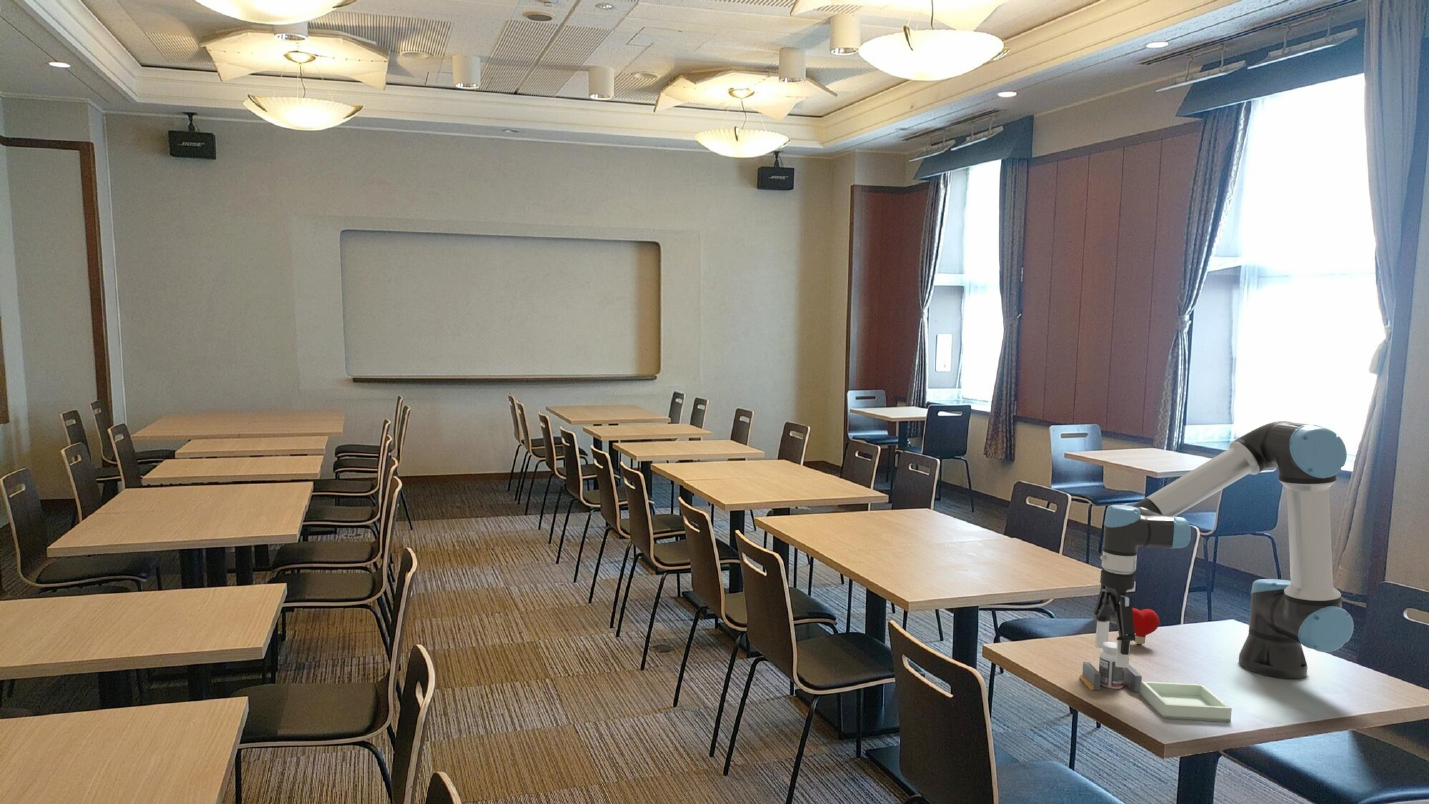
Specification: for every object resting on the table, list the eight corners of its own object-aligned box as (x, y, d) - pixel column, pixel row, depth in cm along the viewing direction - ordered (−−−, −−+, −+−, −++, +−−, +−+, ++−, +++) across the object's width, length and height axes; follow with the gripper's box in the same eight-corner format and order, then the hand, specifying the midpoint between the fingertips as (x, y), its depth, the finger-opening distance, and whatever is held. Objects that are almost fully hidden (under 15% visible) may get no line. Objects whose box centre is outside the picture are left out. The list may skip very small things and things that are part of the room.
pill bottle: (1124, 683, 225) (1126, 643, 224) (1123, 691, 220) (1126, 650, 219) (1098, 679, 227) (1101, 639, 226) (1097, 686, 222) (1100, 646, 221)
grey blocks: (1130, 680, 227) (1131, 664, 227) (1143, 692, 219) (1144, 676, 219) (1079, 677, 228) (1080, 661, 227) (1090, 689, 220) (1091, 673, 219)
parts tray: (1201, 697, 217) (1202, 684, 217) (1230, 722, 203) (1231, 708, 203) (1140, 694, 218) (1141, 681, 218) (1165, 718, 204) (1166, 704, 204)
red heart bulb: (1125, 647, 251) (1127, 611, 251) (1118, 639, 258) (1120, 604, 257) (1161, 650, 250) (1163, 614, 249) (1153, 642, 257) (1155, 606, 256)
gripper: (1084, 556, 234) (1078, 638, 235) (1121, 583, 209) (1114, 674, 211) (1114, 558, 233) (1108, 640, 235) (1155, 585, 209) (1148, 676, 210)
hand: (1111, 657), depth 223 cm, fingers open, 13 cm apart
